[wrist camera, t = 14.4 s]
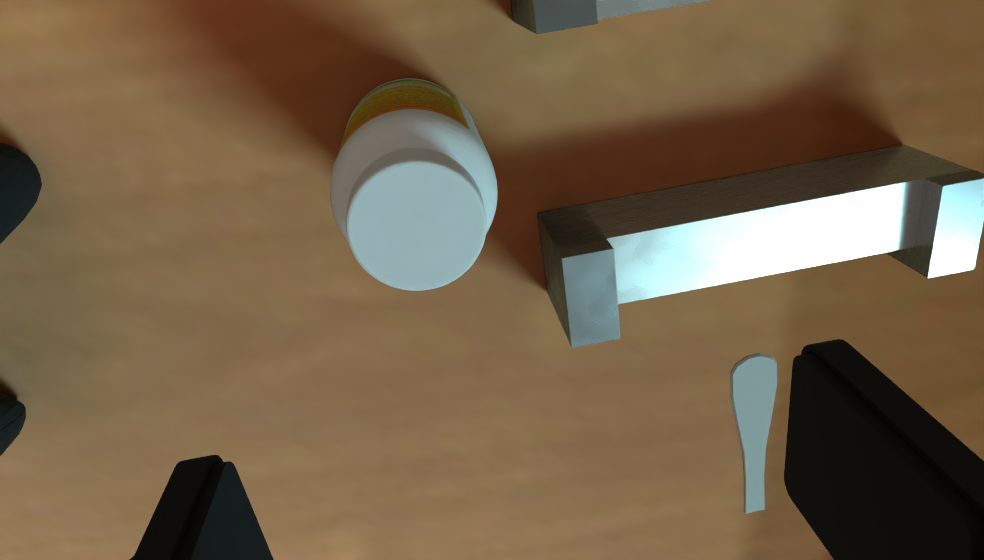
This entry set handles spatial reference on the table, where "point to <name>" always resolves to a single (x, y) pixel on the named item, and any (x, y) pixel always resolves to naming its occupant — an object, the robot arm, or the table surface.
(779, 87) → the table surface
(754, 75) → the table surface
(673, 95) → the table surface
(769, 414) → the butter knife
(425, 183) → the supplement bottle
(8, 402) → the gaming controller
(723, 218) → the channel bracket
